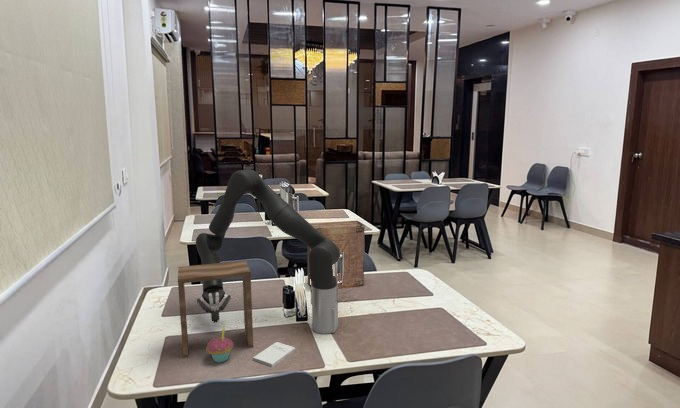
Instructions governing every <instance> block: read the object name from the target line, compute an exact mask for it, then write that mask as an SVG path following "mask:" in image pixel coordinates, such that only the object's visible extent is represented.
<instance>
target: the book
mask: <svg viewBox="0 0 680 408" xmlns="http://www.w3.org/2000/svg"><path fill="white" fill-rule="evenodd" d="M310 224H311V225H312V226H313V227H314V228H315V229H316V230H317V231H319V232H320V233H321V234H323V235H324V236H325V237H327V238H328V239H329V240H331V241H332V242H333V243H334V244H335V245H336V246H337V247H338V249H339V252H344V276H343V285H340V284H338V289H337V290H339V289H341V290H342V289H349V288H357V287H364V285H365V283H364V281H365V280H364V279H365V227H366V226H365V225H364V224H363V223H361V222H360V221H358V220H355V221H354V220H353V221H351V220H350V221H337V222H335V221H334V222H324V223H322V222H321V223H310ZM310 251H311V248H310V247H309V246H308V245H307V285H308V286H310V274H309V254H310ZM338 281H339V282H340V274H339V273H338Z"/></svg>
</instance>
